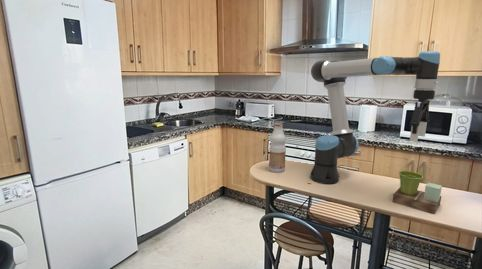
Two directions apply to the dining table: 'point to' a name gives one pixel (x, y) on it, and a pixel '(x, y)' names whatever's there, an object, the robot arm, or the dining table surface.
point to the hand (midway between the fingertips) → (417, 138)
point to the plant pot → (409, 182)
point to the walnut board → (416, 201)
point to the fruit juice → (277, 149)
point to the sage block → (432, 192)
